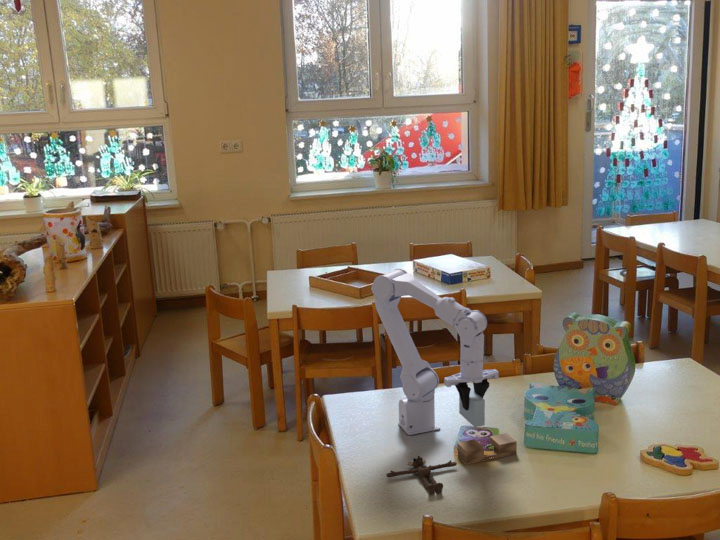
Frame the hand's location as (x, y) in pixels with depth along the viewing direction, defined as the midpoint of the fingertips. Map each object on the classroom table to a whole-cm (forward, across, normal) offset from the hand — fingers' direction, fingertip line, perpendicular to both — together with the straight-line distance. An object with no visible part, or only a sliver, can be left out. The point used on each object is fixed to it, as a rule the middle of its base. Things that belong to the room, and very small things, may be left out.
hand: (471, 407), depth 197 cm
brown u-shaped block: (+9, 0, -9) cm, 13 cm away
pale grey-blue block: (+3, 0, 0) cm, 3 cm away
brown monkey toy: (+10, -19, -14) cm, 25 cm away
